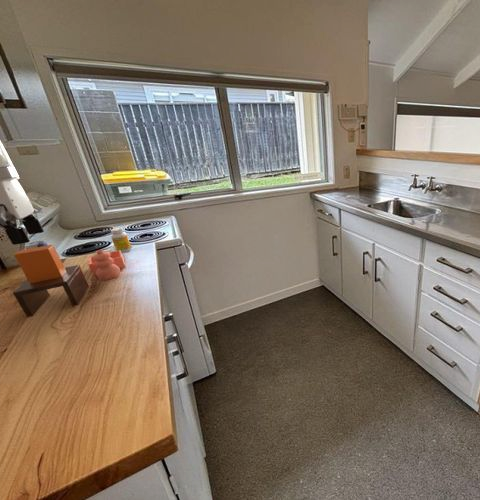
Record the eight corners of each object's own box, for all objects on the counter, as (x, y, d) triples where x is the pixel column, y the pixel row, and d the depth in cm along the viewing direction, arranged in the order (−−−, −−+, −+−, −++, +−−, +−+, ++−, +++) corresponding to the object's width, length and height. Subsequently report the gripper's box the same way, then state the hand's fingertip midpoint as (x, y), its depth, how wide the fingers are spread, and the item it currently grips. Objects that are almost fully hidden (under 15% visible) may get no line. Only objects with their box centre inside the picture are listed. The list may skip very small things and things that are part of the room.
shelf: (27, 317, 79) (12, 292, 75) (44, 296, 89) (32, 273, 86) (78, 304, 83) (66, 281, 80) (89, 286, 94) (79, 264, 91)
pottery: (93, 266, 108) (83, 243, 104) (124, 259, 114) (115, 236, 110) (92, 284, 95) (80, 257, 91) (126, 275, 101) (116, 249, 97)
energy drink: (62, 271, 105) (47, 242, 101) (43, 278, 101) (26, 247, 96) (57, 269, 108) (42, 239, 103) (38, 274, 104) (22, 244, 99)
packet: (29, 283, 80) (13, 254, 76) (35, 277, 83) (20, 250, 80) (62, 277, 83) (48, 248, 80) (66, 271, 86) (53, 244, 83)
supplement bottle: (117, 253, 120) (108, 232, 116) (116, 250, 124) (107, 229, 120) (132, 249, 123) (124, 228, 119) (131, 246, 127) (123, 226, 123)
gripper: (-8, 173, 77) (24, 232, 84) (-49, 181, 63) (-6, 251, 70) (30, 170, 80) (58, 227, 87) (-1, 177, 66) (35, 244, 73)
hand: (29, 238), depth 78 cm, fingers open, 9 cm apart
